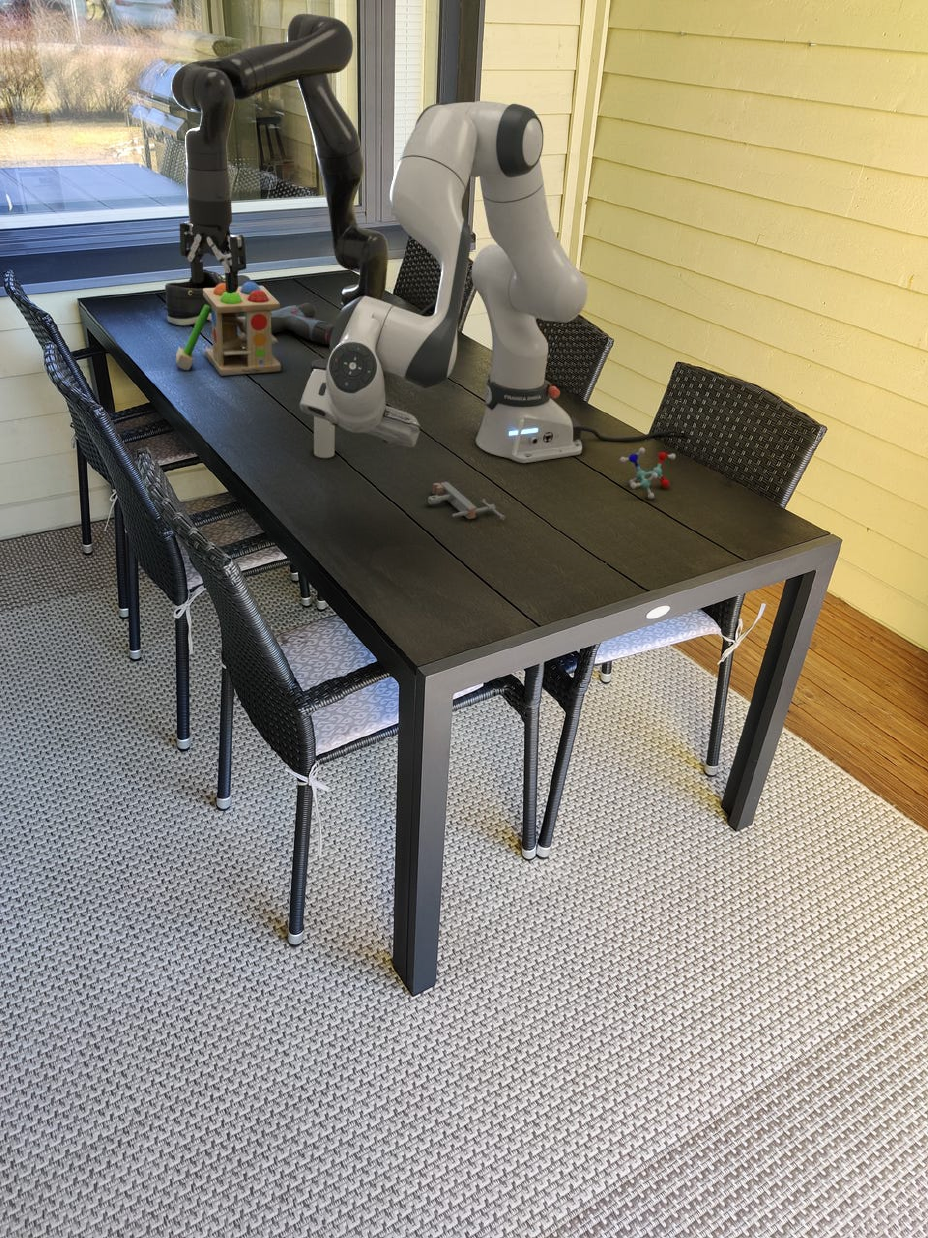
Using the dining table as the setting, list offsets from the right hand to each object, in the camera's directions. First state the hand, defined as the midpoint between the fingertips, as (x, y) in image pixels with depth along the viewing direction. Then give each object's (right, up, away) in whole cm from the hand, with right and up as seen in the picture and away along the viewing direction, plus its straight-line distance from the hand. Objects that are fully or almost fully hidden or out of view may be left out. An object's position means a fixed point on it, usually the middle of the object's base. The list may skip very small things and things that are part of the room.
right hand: (362, 430), depth 170 cm
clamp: (+17, -13, +10) cm, 24 cm away
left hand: (-29, +29, +13) cm, 43 cm away
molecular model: (+53, -7, +24) cm, 59 cm away
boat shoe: (-50, +50, +93) cm, 116 cm away
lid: (-9, +15, +15) cm, 23 cm away
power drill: (-22, +41, +83) cm, 95 cm away
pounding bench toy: (-38, +27, +60) cm, 76 cm away
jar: (-10, 0, +25) cm, 27 cm away
